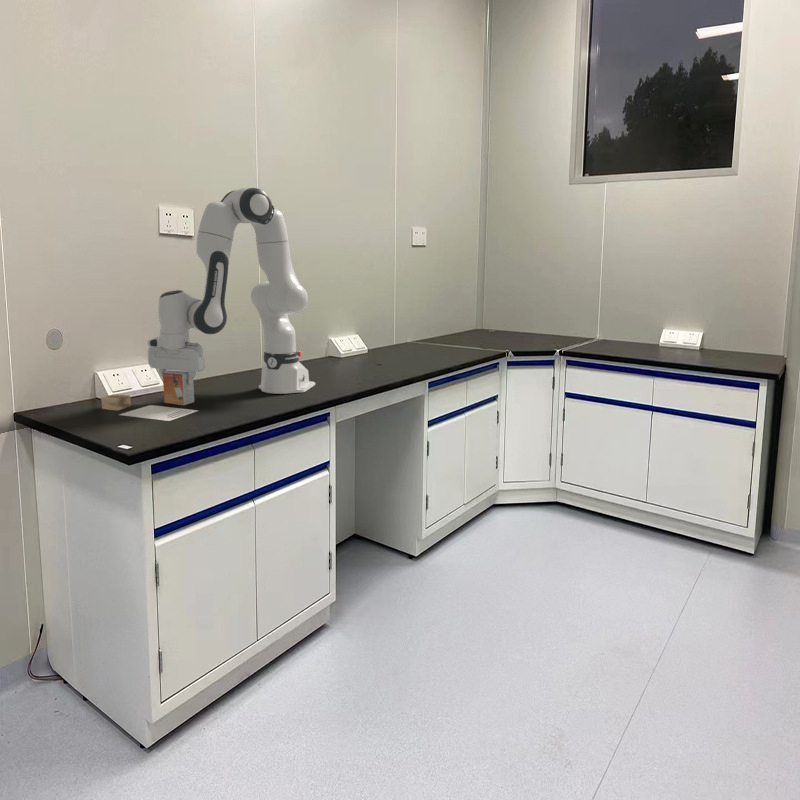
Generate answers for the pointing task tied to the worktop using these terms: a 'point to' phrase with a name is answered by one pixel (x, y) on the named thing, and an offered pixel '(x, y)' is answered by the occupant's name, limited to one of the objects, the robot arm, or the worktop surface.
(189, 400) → the small box
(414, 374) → the worktop surface
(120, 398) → the beech block
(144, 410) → the letter
